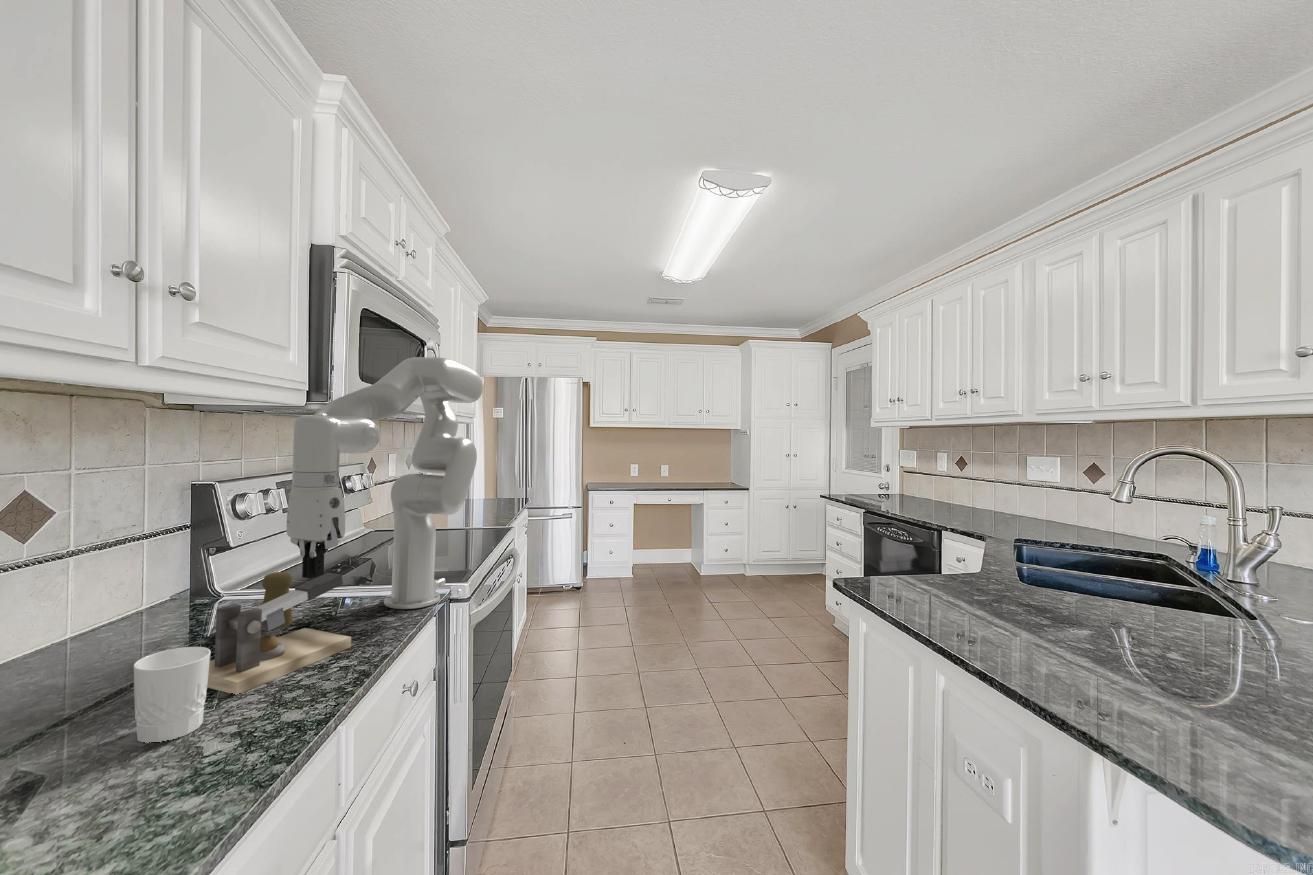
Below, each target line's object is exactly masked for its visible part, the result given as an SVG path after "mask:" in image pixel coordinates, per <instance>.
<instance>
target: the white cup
mask: <svg viewBox="0 0 1313 875" xmlns="http://www.w3.org/2000/svg"><path fill="white" fill-rule="evenodd" d="M211 653H212V651H211V649H209V648H208V647H203V646H185V647H177V648H173V649H172V648H170V649H165V650H162V651H158V652H154V653H151V654H149V655H146V656H144V657H142V658H140V659H138V660H137V661H135V662H134V664H133V700H134V719H135V721H136V739H137V742H141V743H143V742H145V743H144V744H152V743H151V742H160V743H163V742H162V741H165V742H168V741H167V740H169V741H173V739H174V740H177V739H179V738H181V737H184V736H187V735H189V734H191V733H192V732H195V731H196V730H198V728H200V726H201V725H202V724H203V721H204V712H205V711H204V710H205V703H206V700H207V690H208V687H207V686H208V675H209V665H210V661H211ZM178 737H179V738H178ZM149 742H150V743H149Z"/></svg>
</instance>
